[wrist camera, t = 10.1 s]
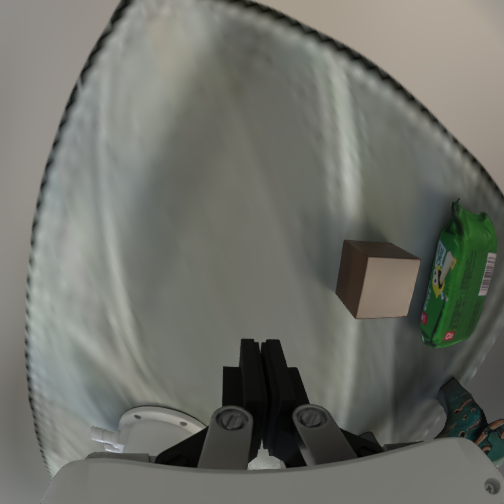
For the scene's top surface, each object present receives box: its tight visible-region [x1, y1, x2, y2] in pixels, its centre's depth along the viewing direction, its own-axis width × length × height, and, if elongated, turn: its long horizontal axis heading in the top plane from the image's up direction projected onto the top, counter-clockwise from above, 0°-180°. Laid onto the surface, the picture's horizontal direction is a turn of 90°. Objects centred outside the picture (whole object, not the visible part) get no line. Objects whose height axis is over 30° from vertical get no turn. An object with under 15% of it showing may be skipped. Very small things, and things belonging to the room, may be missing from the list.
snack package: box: [420, 198, 497, 348], centre depth 23 cm, size 7×16×5 cm, turn 178°
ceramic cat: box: [359, 378, 504, 468], centre depth 22 cm, size 20×6×20 cm, turn 117°
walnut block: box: [336, 240, 421, 319], centre depth 22 cm, size 5×5×5 cm
